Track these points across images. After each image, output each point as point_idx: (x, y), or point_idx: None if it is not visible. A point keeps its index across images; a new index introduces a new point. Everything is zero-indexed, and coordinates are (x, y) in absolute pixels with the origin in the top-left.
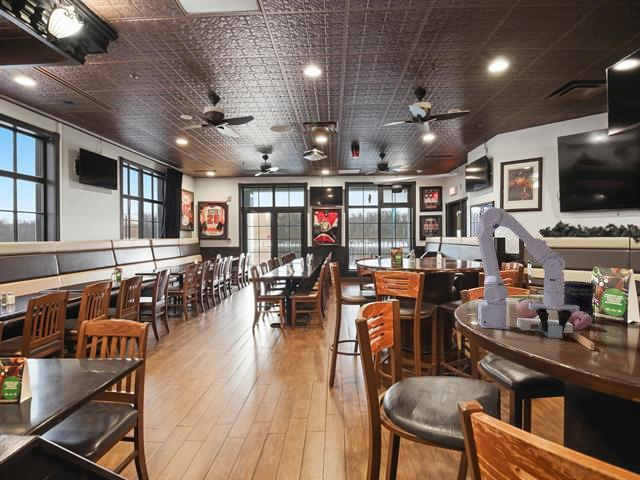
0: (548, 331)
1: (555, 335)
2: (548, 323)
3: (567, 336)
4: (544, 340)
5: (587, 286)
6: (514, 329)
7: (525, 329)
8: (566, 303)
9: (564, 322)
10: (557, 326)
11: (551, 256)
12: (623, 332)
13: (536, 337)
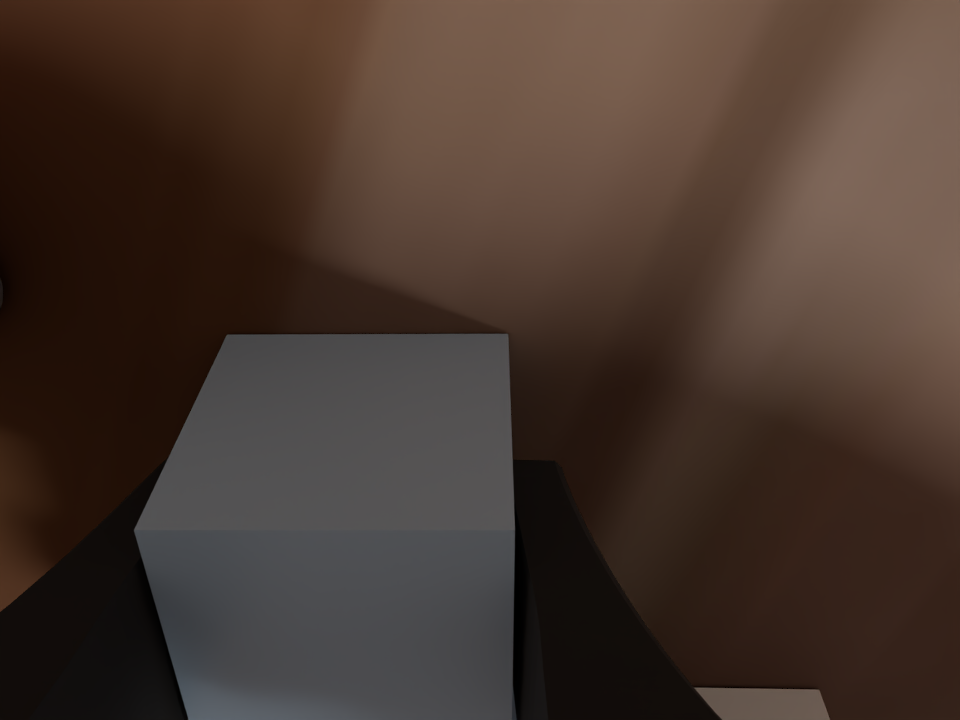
0: (509, 430)
1: (360, 364)
2: (437, 706)
3: (89, 488)
4: (738, 30)
5: None
6: (936, 698)
7: (759, 699)
8: None
9: (26, 643)
10: (275, 517)
11: None
12: None
13: (803, 266)
